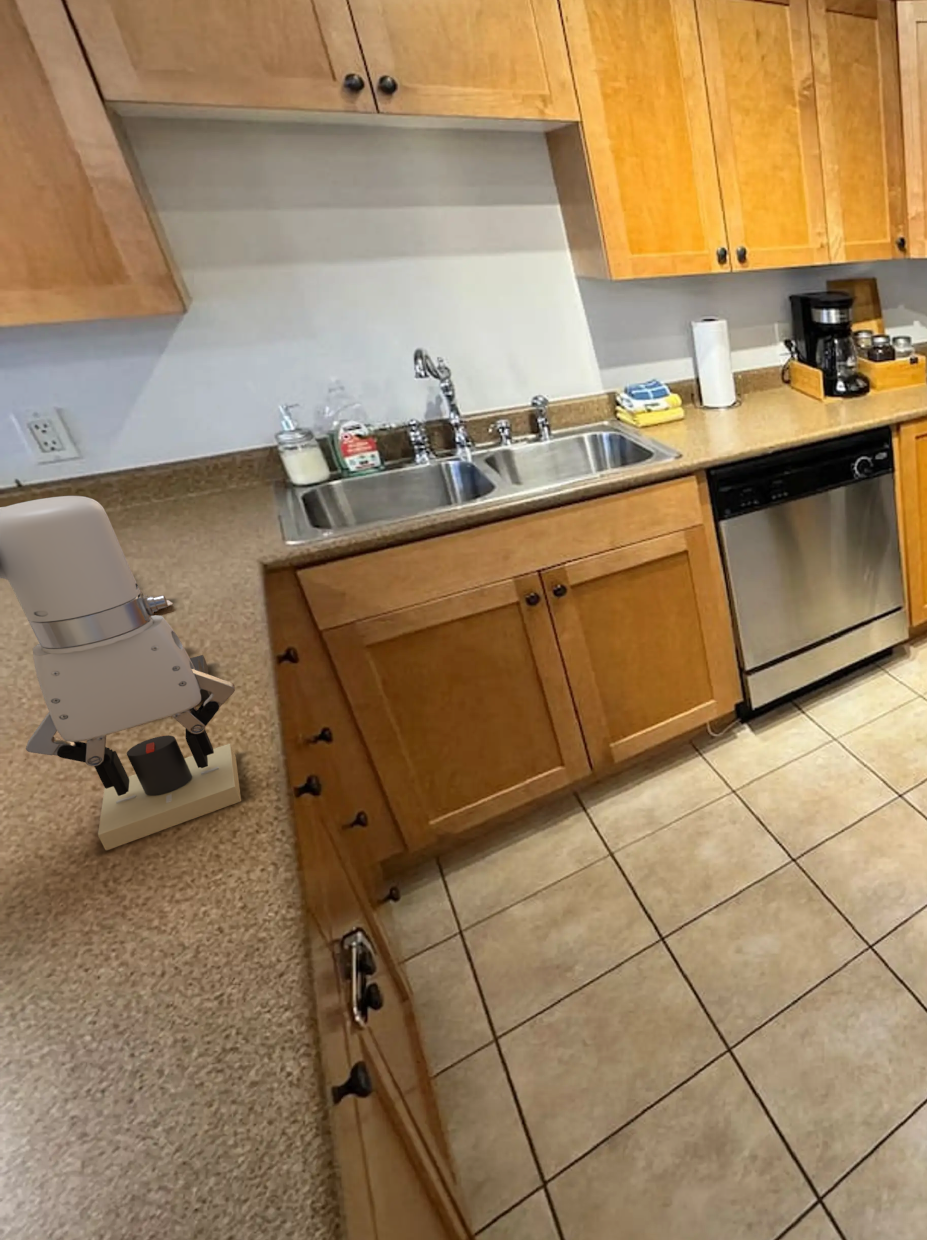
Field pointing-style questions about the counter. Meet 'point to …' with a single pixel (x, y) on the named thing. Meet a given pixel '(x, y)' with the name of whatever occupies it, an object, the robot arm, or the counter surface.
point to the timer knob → (159, 765)
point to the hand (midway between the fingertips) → (164, 773)
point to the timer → (169, 801)
